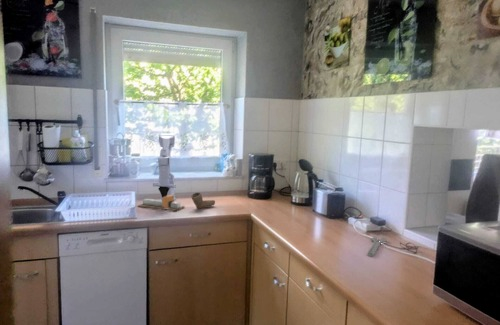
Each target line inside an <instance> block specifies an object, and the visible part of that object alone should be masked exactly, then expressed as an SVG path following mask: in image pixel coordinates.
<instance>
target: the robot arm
mask: <svg viewBox="0 0 500 325" xmlns="http://www.w3.org/2000/svg"><path fill="white" fill-rule="evenodd" d="M175 138H176V136H175V134H174V133H159V134H158V142H159V147H161V149H160V152H159V157H158V175H159V176H158V182H152V187H156V188H157V187H158V188H157V190H158V191H159V193H160V199H159V200H162V197H164V196H167V195H174V201H175V200H176V196H175V195H176V193H175V192H176V190H175V189H176V184H175V174H173V173H172V172H171V151H172V148H174V147H175Z"/></svg>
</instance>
